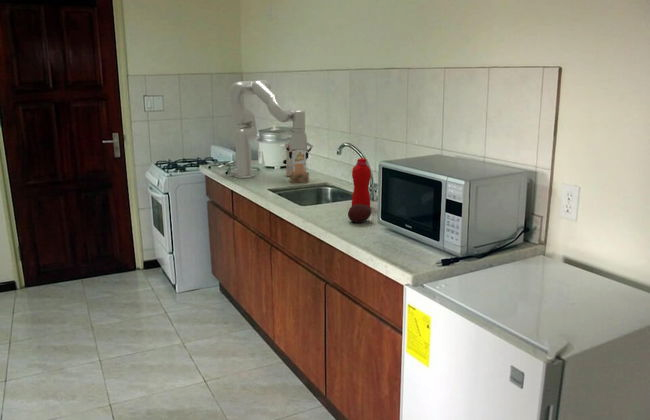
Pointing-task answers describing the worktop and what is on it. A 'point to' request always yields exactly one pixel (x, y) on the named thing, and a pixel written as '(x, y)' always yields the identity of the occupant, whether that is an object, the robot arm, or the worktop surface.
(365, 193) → the water bottle
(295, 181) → the walnut base
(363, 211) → the potato
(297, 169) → the terracotta block
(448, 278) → the worktop surface
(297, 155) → the cracker box
